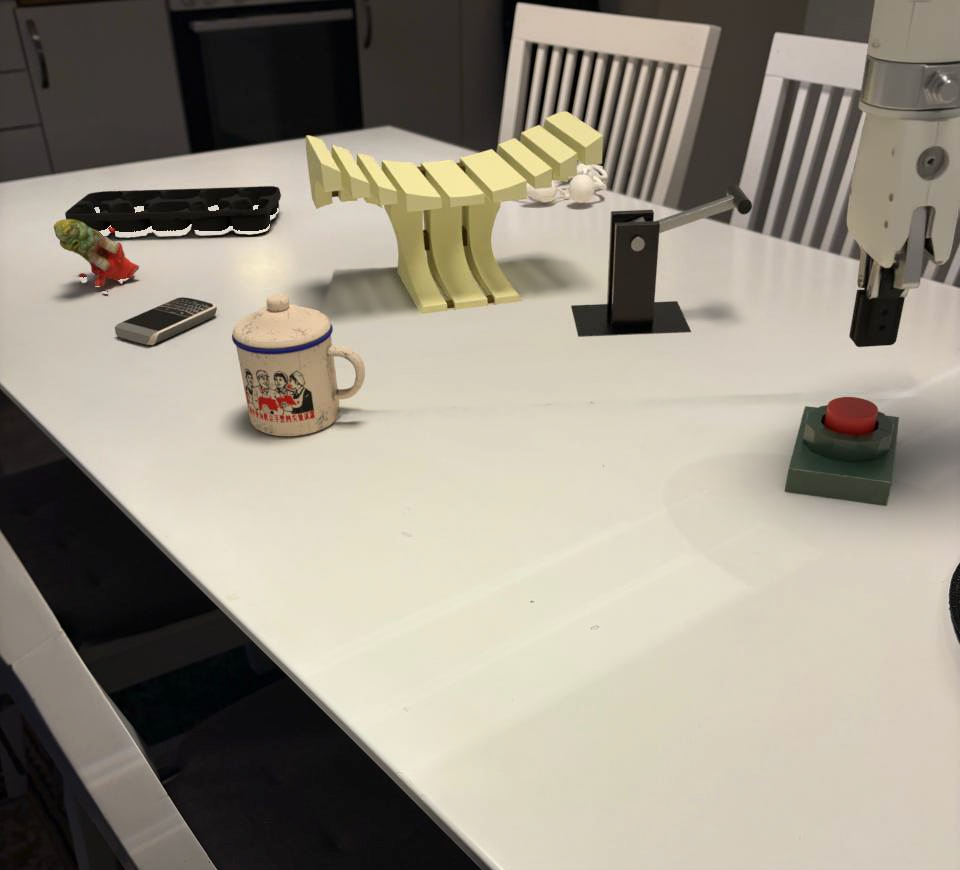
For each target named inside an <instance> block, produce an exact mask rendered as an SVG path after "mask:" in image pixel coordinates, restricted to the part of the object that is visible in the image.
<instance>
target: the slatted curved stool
mask: <svg viewBox="0 0 960 870" xmlns="http://www.w3.org/2000/svg"><path fill="white" fill-rule="evenodd" d="M603 141H604V134H602V133H600V132H599V131H597V130H596V129H595V128H593V127H591V126H589V125H588V124H587V123H585V122H584V121H582V120H581V119H579V118H577V117H576V116H575V115H573V114H572V113H570V112H568V111H565V110H564V111H560V112H556V113H554V114H552V115H550V116H548V117H546V118H544V122H543V125H542V126H541V125H540V124H538V125H535V126H533V127H531V128H528V129H527V130H524V131H521V133H520V138H519V140H518V139H517V138H511V139H509V140H506V141H503V142H501V143H499V144H498V145H497V152H496V151H495V150H494V149H493V148H491V149H487V150H484V151H481V152H477V153H474V154H471V155H465V156H461V157H459V162H455V161H454V160H453V159H446V160H437V161H426V162H425V161H423V162H420V166H417V165H416V164H415V163H414V162H412V161H411V162H410V161H394V160H386V159H382V160H381V165H379V163H378V162H377V160H375V158H374V156H370V155H366V154H363V153H356V160H355V158H354V157H353V156H352V154H351V152H350V151H349V149H347V148H344V147H341V146H337V145H334V144H331V146H330V147H331V149H330V150H331V151H329V149H328V147H327V146H326V144H325V142H324V140H323V139H321V138H318V137H315V136H313V135H305V152H306V153H305V154H306V161H307V162H306V163H307V169H308V170H307V171H308V178H309V185H310V186H309V187H310V194H311V200H312V202H313V204H314V206H315V209H316V210H318V209H320V208H322V207H325V206H329V205H332V204H333V198H338V199H339V201H340V203H345V202H357V201H358V199H363V200H364V201H365V203H367V204H372V205H375V206H378V207H379V208H381V209H383V208H384V210H385V212H386V214H387V216H388V219H389V221H390V224H391V226H392V229H393V232H394V235H395V239H396V243H397V253H398V256H397V257H398V259H397V268H396V273H397V274H398V276H399V278H400V280H401V281H402V283H403V285H404V287H405V288H406V290H407V292H408V293H409V295H410V297H411V299H412V301H413V302H414V305H415V306H416V308H417V309H418V311H419V313H420V315H423V314H432V313H440V312H447V311H448V309H449V310H450V309H455V310H462V309H472V308H480V307H487V306H488V305H489V304H494V305H502V304H511V303H518V302H522V299H521V298H520V294H518V292H517V290H515V289H514V287H513V286H512V284H511V283H510V281H509V280H508V279H507V278H506V276H505V274H504V273H503V272H502V270H501V268H500V266H499V264H498V262H497V260H496V258H495V255H494V251H493V246H492V235H493V230H494V225H495V221H496V218H497V215H498V213H499V210H500V209H501V203H504V202H514V201H522V200H527V199H528V198H527V197H528V195H527V183H528V184H529V185H531V186H532V187H533V188H534V189H541V188H550V187H552V181H556V182H563V183H568V182H569V180H568V176H576V175H577V165H578V162H580V164H582V163H583V164H584V165H593V164H595V165H602V164H603V147H604V146H603V145H604V143H603ZM330 152H331V153H330ZM383 206H384V207H383ZM434 279H435V280H436V281H435V280H434ZM476 280H477V281H476ZM436 282H437V283H438V285H439V287H440V288H441V289H442V291H443V293H444V295H445V296H446V297H447V300H445V298H444V296H443V295H442V293H441V291H440V289H439V288H438V286H437V283H436ZM478 283H479V284H478ZM479 285H480V286H481V287H482V288H483V289H484V291H485V292H486V294H487V295H485V293H484V292H483V290H482V288H481V287H480V286H479Z"/></svg>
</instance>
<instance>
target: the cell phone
mask: <svg viewBox="0 0 960 870" xmlns="http://www.w3.org/2000/svg"><path fill="white" fill-rule="evenodd" d="M217 310H218V307H217V305H216V304H214V303H211V302H208V301H204V300H201V299H200V300H199V299H196V298H191V297H183V296H182V297H176V298H173V300H169V301H167V302H165V303H163V304H160V305H158V306H156V307H153V308H151V309H148V310H146V311H144V312H142V313H139V314H137V315H135V316H132V317H130V318H128V319H125V320H123V321H121V322H119V323H117V324H116V325H115V326H114V332H115V335H116V336H117V337H118V338H121V339H125V340H128V341H132V342H135V343H139V344H143V345H147V346H150V345H152V346H154V345H156V343H157V344H158V342H159V343H161V342H163V341H165V340H167V339H169V338H172V337H174V336H176V335H178V334H180V333H182V332H184V330H185V331H187V330H189V329H191V328H194V327H195V326H197V325H199V324H202V323H204V322H206V321H209V320H210V319H212V318H214V317H215V316H216V314H217ZM186 329H187V330H186ZM173 335H174V336H173ZM171 336H172V337H171ZM162 340H163V341H162ZM160 341H161V342H160Z"/></svg>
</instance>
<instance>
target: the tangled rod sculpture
mask: <svg viewBox="0 0 960 870" xmlns="http://www.w3.org/2000/svg"><path fill="white" fill-rule="evenodd" d="M608 178H609V176H608V172H607V171H606V170H605V169H604V165H603V166H602V165H599V164H593V165H584V164H583V163H579V164H577V175H576V176H568V181H569V180H570V182H569V184H568V193H566V191H565V190H564V189H561V188H559V187H558V186H557V185H556V184H555V181H554V180H552V187H550V188H541V189H534V188H533V187H532V186H531V185H529V184H528V183H527V197H530V198H534V199H535V200H537V201H539V202H541V203H549V202H553V200H554V199H555V198H556V196H557V193H559V196H563V197H564V199H565V200H569V199H570V198H571V200H573V202H575V203H577V204H584V203H587V202H589V201H590V200H591V199H593V196H594V194H595V191H596V189H601V190H602V191H603V190H607V188H608V187H607V185H606V183H604V182H606V181H607V180H608Z"/></svg>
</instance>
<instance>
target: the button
mask: <svg viewBox="0 0 960 870" xmlns="http://www.w3.org/2000/svg"><path fill="white" fill-rule="evenodd" d="M826 405H827V411H826V416H825V422H824V425H825V427H826V428H827V429H830V430H832V431H835V432H837V433H840V434H848V435H864V434H870V433H872V432H873V431H874V428H875V423H876V419H877V414H878V411H879V407H878V406H877V405H876V404H875V403H874V402H872V401H870V400H868V399H865V398H862V397H856V396H841V397H840V396H839V397H836V398H833V399H831V400H830V401H829V402H828V403H827V404H826Z"/></svg>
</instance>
